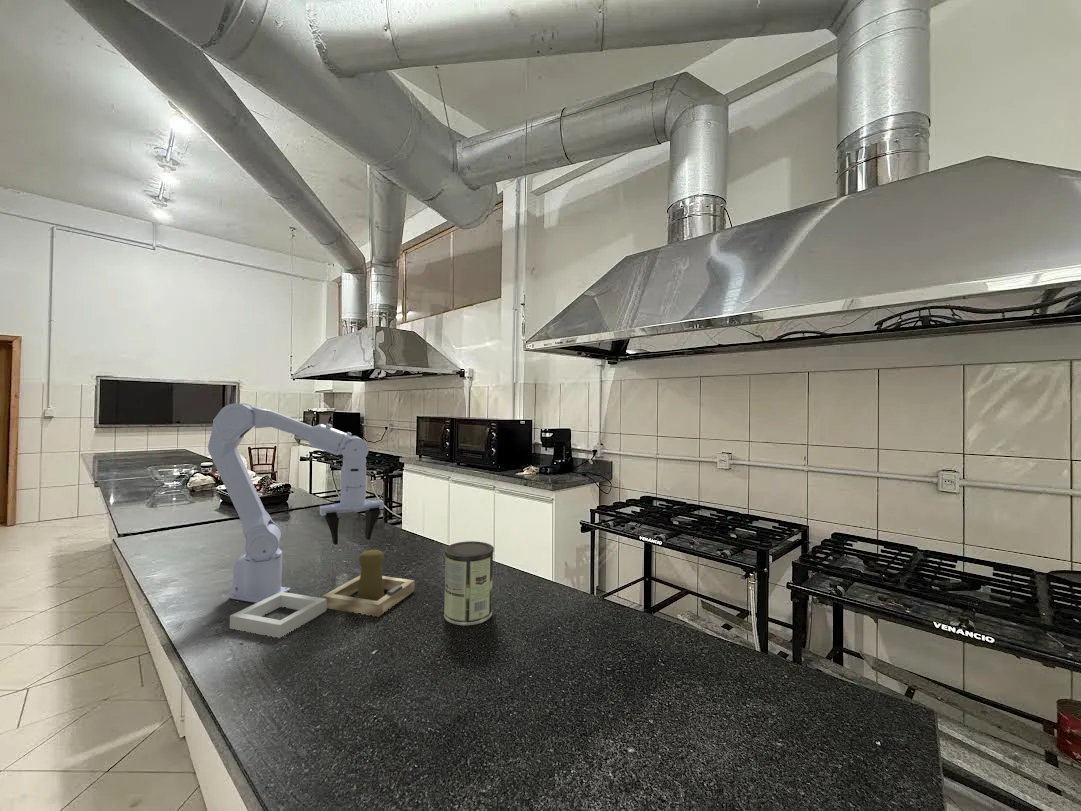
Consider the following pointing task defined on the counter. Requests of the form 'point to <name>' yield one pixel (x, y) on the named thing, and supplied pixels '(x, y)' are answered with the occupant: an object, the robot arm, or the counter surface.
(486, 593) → the coffee can
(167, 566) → the counter surface
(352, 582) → the wooden square frame
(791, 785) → the counter surface
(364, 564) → the cork
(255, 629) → the white picture frame
